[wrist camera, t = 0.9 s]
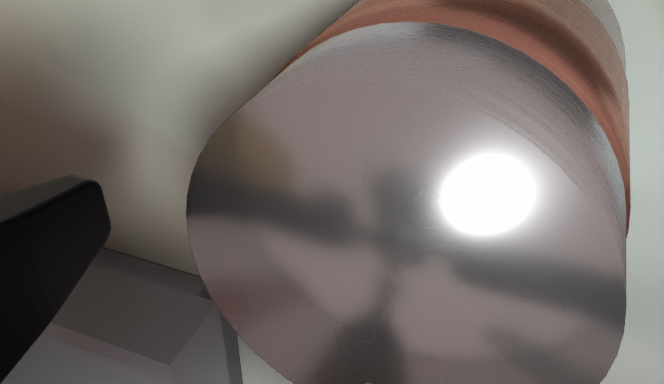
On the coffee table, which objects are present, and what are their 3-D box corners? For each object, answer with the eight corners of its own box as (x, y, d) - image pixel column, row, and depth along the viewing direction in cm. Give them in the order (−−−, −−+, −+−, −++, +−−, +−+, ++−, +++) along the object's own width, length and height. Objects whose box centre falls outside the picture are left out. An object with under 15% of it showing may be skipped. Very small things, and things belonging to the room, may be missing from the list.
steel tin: (587, 212, 14) (564, 492, 8) (352, 161, 15) (208, 367, 10) (669, -52, 10) (716, 133, 5) (359, -79, 12) (151, 38, 7)
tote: (256, 489, 27) (215, 566, 25) (-79, 351, 34) (-140, 401, 31) (230, 286, 20) (169, 365, 17) (-191, 159, 26) (-283, 202, 24)
